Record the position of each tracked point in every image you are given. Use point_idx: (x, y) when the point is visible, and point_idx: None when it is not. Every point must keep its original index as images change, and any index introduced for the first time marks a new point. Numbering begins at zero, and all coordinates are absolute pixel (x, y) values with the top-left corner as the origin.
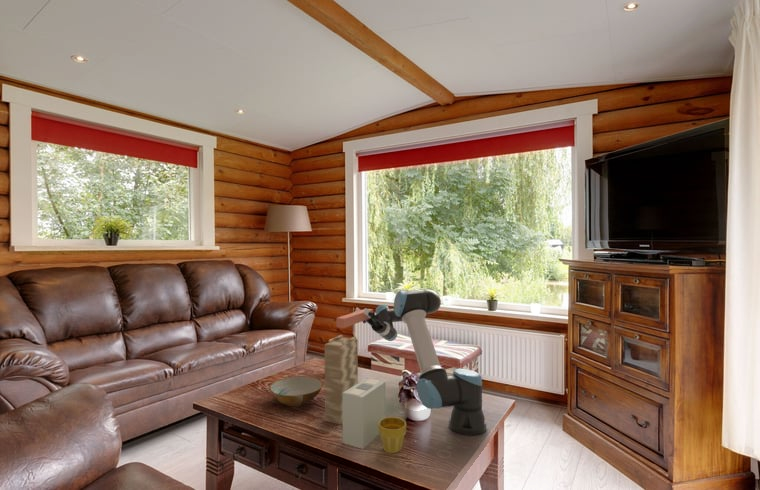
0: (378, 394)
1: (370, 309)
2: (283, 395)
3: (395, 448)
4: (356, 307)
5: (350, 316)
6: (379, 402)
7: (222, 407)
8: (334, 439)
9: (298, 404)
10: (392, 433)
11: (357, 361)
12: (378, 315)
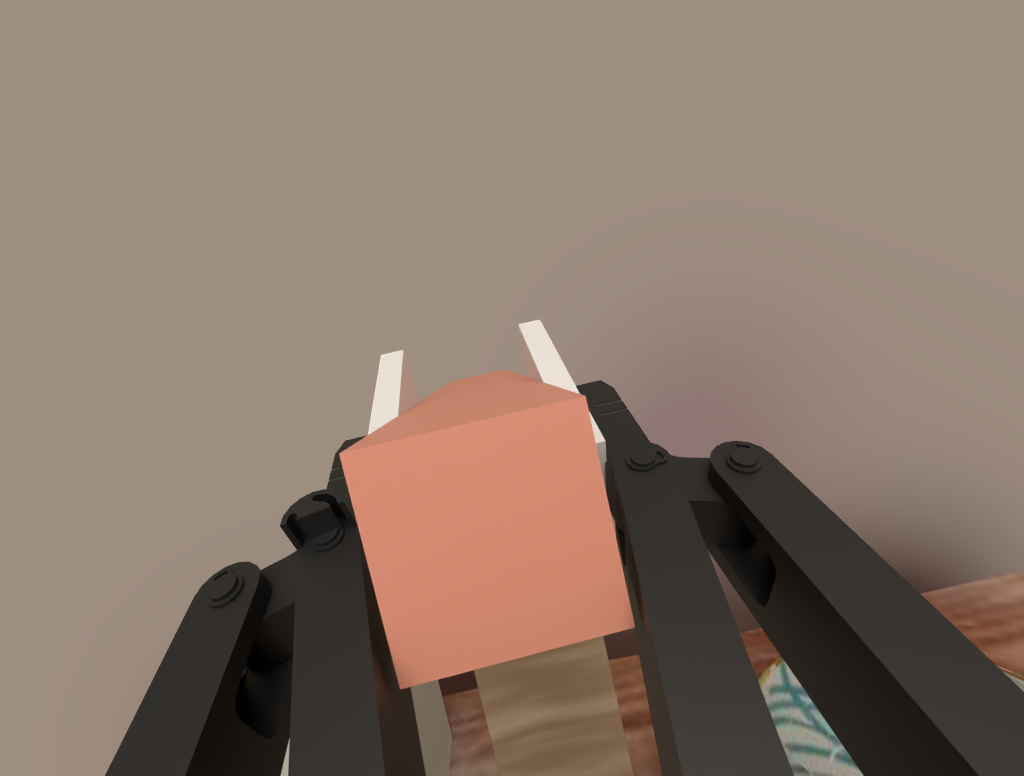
0: None
1: (402, 430)
2: None
3: None
4: (536, 323)
5: (449, 384)
6: None
7: (961, 605)
8: (487, 734)
9: (814, 767)
10: None
11: (487, 724)
12: (192, 622)
